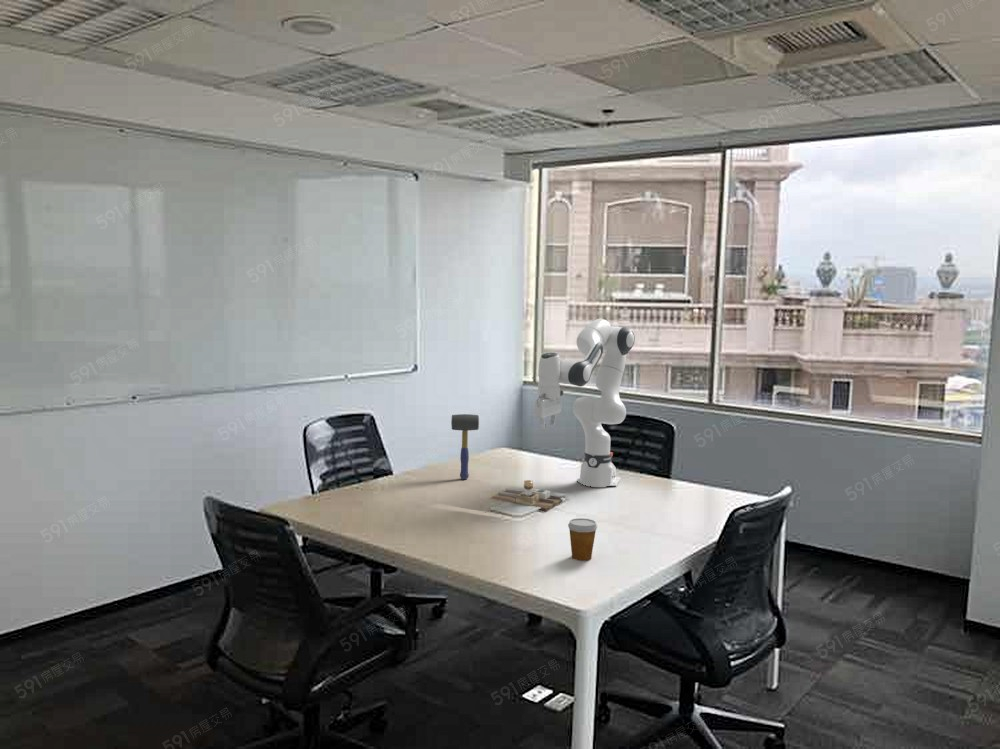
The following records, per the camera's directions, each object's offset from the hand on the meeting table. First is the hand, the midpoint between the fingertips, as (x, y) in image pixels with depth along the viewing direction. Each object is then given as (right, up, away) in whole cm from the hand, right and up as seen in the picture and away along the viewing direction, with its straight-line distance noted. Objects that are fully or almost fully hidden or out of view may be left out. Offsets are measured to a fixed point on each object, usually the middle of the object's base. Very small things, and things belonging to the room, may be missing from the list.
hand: (547, 426), depth 328 cm
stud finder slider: (-4, -29, +1) cm, 29 cm away
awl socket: (-8, -30, -5) cm, 32 cm away
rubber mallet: (-36, -27, +37) cm, 58 cm away
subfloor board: (-9, -31, 0) cm, 32 cm away
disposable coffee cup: (+7, -39, -66) cm, 77 cm away
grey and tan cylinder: (-8, -30, -5) cm, 32 cm away
